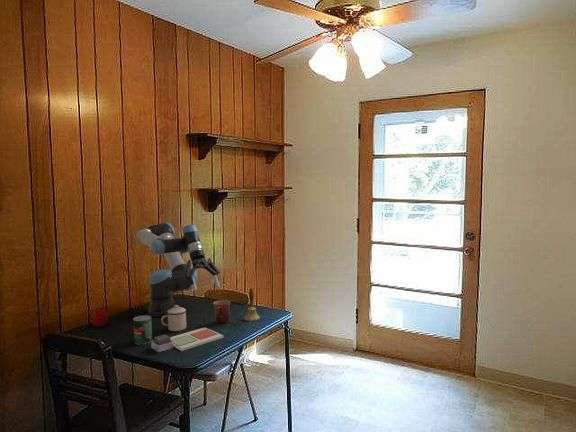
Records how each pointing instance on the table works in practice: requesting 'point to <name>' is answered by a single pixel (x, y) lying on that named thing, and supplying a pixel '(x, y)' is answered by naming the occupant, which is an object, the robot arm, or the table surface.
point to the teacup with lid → (176, 318)
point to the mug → (222, 311)
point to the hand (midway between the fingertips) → (206, 288)
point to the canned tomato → (142, 329)
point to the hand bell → (251, 309)
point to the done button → (162, 339)
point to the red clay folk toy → (100, 317)
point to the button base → (162, 346)
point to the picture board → (195, 338)
